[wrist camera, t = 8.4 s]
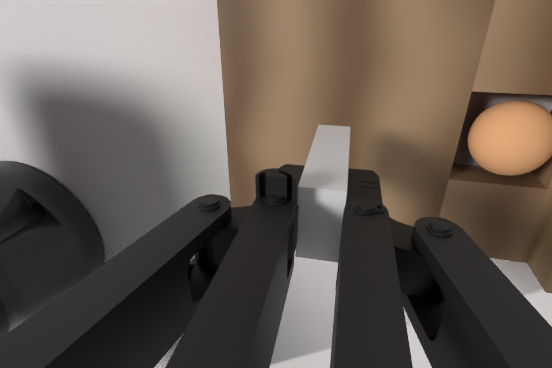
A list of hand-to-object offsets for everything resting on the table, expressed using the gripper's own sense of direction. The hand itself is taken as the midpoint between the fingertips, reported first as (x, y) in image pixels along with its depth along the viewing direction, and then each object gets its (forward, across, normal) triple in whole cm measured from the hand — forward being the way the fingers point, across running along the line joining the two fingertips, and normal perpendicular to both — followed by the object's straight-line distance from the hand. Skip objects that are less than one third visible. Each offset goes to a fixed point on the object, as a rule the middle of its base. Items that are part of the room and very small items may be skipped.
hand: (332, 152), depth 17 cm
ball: (+4, +9, 0) cm, 10 cm away
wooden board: (+6, +4, 0) cm, 7 cm away
